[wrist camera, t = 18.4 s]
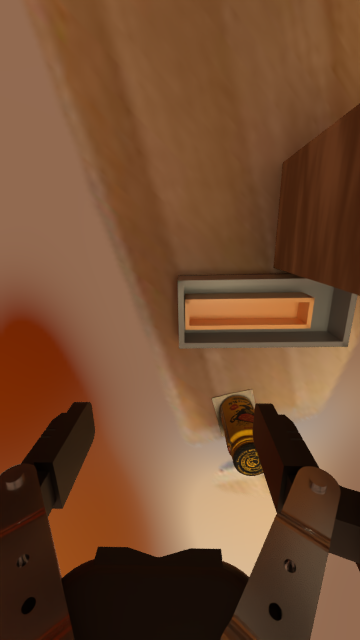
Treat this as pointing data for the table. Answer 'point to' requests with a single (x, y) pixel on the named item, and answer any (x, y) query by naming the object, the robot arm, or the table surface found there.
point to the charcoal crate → (325, 330)
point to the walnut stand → (323, 208)
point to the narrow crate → (248, 311)
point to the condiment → (239, 430)
